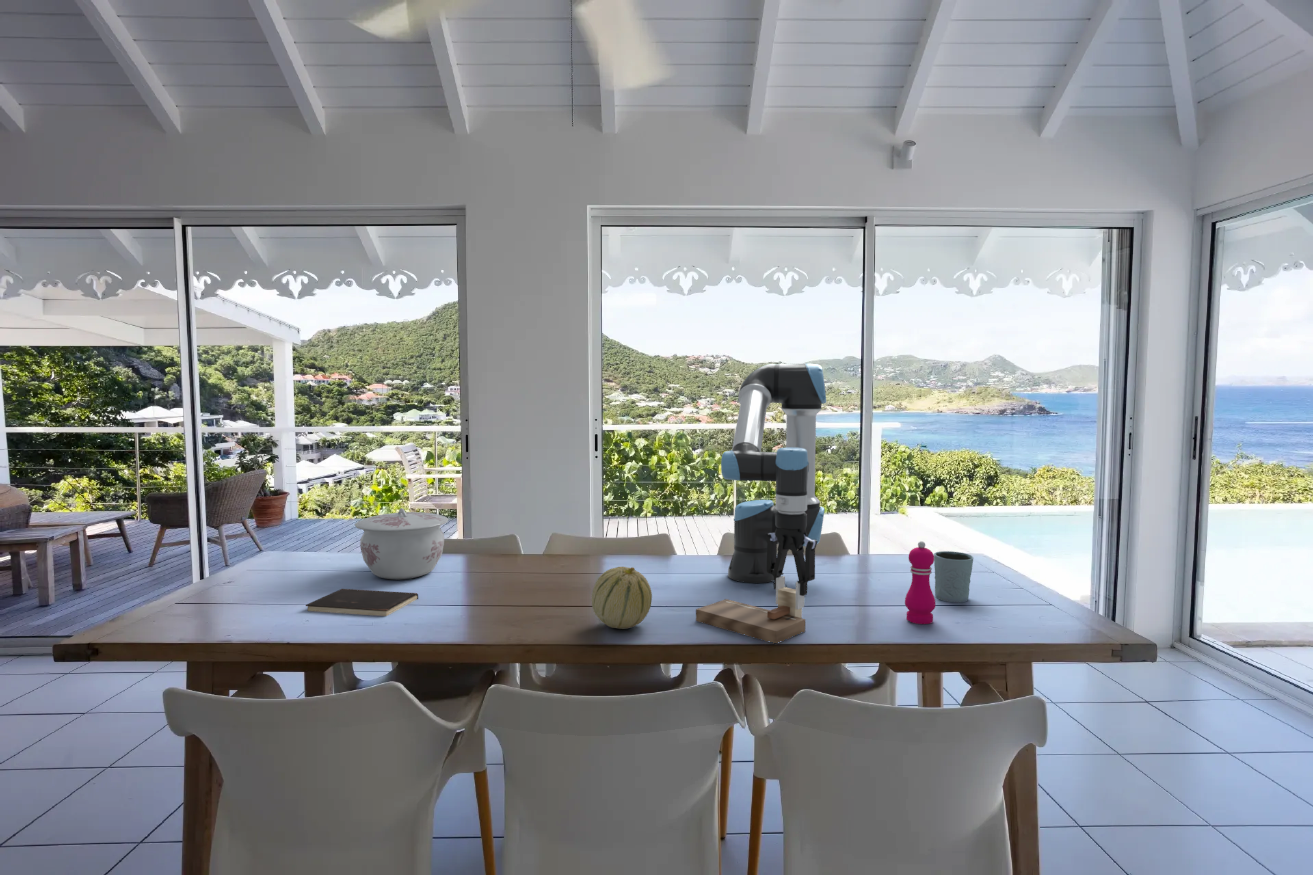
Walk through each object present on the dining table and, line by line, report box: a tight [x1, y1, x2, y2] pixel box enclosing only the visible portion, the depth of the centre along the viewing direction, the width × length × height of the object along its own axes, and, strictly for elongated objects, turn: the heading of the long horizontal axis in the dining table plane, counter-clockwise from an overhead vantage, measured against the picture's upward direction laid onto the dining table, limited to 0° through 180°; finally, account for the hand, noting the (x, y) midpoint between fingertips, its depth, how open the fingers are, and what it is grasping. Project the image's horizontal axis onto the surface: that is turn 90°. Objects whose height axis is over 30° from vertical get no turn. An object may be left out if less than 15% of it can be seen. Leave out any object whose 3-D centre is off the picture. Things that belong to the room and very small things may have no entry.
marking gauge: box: [767, 586, 803, 619], centre depth 181 cm, size 5×11×8 cm, turn 136°
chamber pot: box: [354, 508, 450, 581], centre depth 230 cm, size 28×28×21 cm
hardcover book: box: [305, 588, 419, 617], centre depth 199 cm, size 16×23×2 cm
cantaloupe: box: [591, 566, 653, 630], centre depth 181 cm, size 15×15×15 cm
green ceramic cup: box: [933, 550, 974, 603], centre depth 205 cm, size 10×10×12 cm
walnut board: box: [695, 598, 806, 644], centre depth 182 cm, size 24×12×3 cm, turn 46°
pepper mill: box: [904, 540, 936, 625], centre depth 186 cm, size 7×7×20 cm
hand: (789, 605), depth 183 cm, fingers closed on marking gauge, 5 cm apart
